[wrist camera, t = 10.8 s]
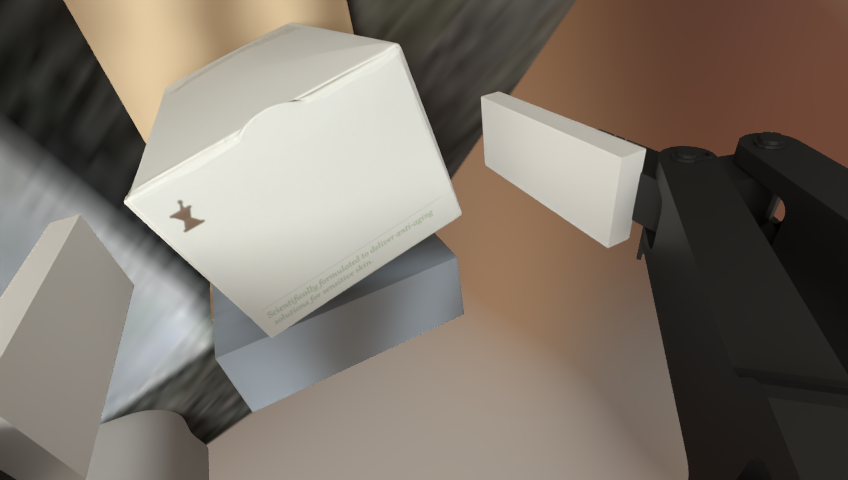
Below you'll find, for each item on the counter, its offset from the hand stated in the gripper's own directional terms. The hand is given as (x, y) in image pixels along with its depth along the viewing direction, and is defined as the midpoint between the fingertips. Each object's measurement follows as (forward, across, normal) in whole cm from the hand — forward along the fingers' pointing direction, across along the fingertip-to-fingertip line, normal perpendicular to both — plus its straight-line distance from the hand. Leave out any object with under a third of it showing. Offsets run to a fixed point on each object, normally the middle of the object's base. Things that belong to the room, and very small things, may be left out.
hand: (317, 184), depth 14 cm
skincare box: (+14, +1, 0) cm, 14 cm away
